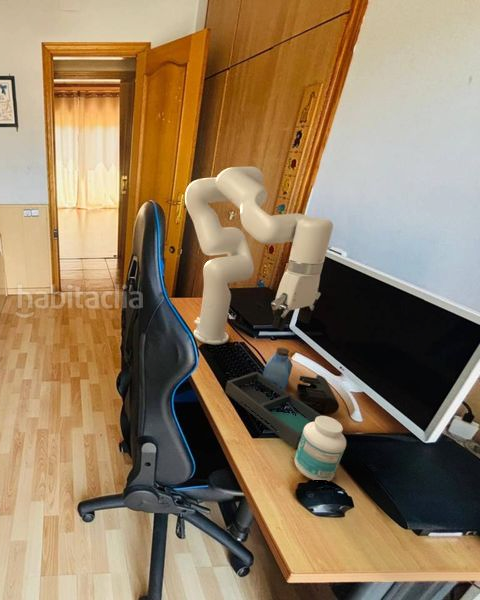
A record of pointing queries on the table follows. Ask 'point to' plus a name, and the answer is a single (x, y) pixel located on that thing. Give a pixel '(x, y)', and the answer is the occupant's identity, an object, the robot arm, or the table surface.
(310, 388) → the dark brown rock
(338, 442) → the pill bottle
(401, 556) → the table surface
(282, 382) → the perfume bottle
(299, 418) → the rack
